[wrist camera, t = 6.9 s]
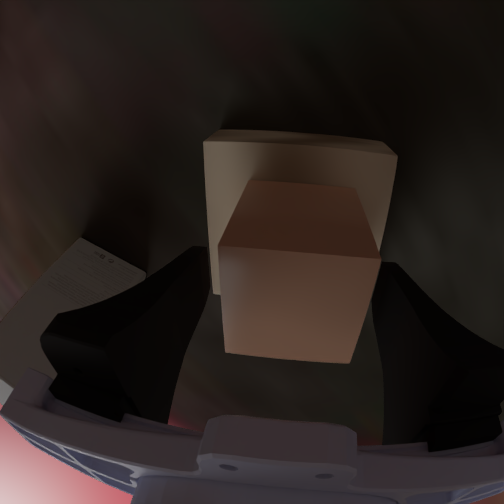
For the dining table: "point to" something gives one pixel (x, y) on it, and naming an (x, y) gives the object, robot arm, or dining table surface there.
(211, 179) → the maple base block
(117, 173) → the dining table surface
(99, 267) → the small box
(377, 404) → the dining table surface
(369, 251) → the terracotta block
